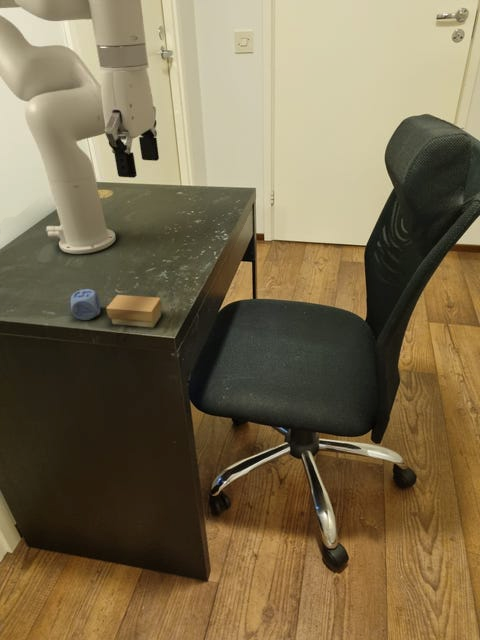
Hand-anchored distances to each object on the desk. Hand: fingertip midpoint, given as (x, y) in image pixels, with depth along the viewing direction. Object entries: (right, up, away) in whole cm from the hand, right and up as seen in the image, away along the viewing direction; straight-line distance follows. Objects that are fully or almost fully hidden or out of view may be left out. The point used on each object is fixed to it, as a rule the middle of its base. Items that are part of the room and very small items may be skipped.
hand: (139, 167), depth 83 cm
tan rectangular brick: (0, -27, -3) cm, 27 cm away
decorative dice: (-9, -26, 0) cm, 28 cm away
